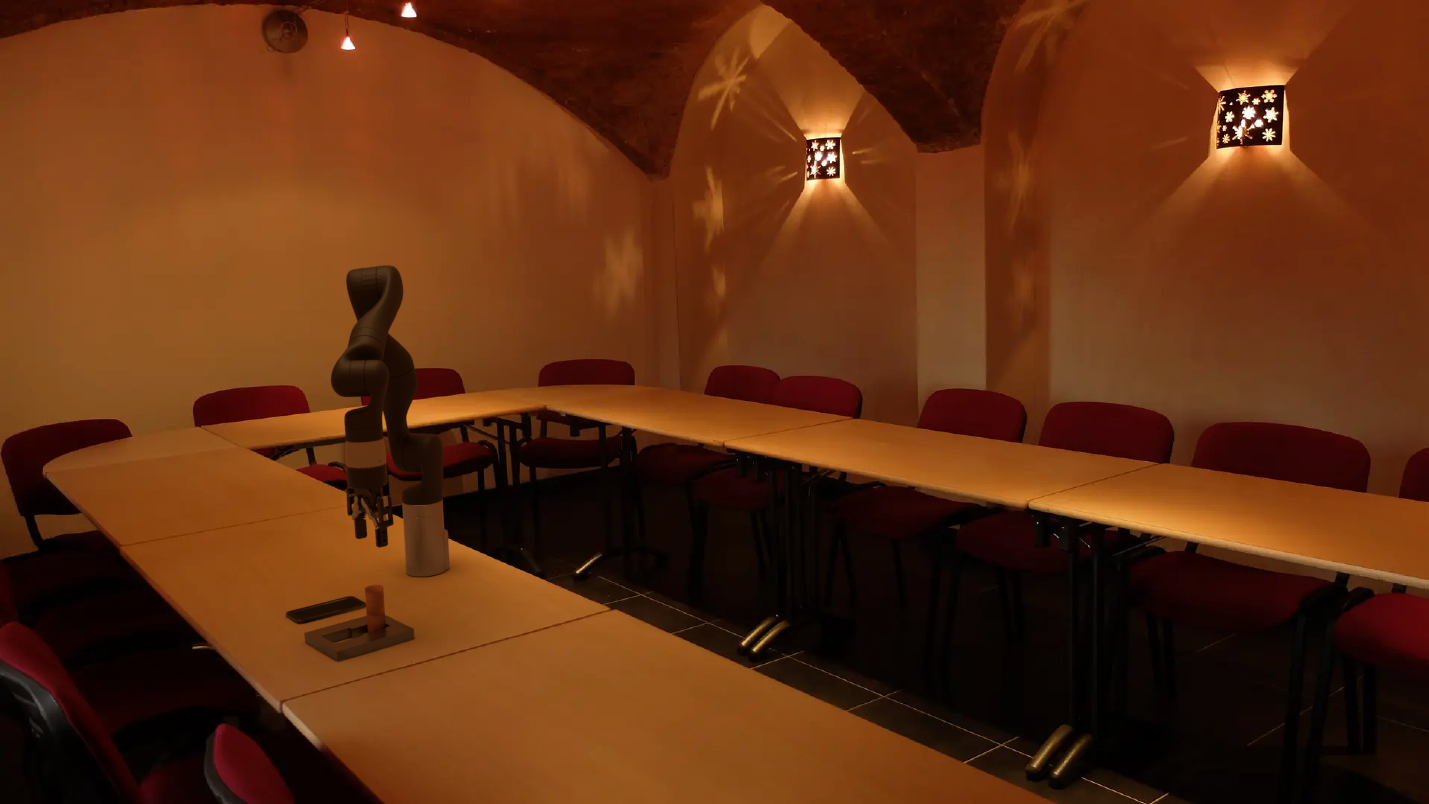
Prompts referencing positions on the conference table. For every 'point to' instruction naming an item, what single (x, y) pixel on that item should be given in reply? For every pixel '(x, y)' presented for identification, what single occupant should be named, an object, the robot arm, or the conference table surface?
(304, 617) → the phone
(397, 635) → the keyhole plate
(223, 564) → the conference table surface
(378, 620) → the peg
